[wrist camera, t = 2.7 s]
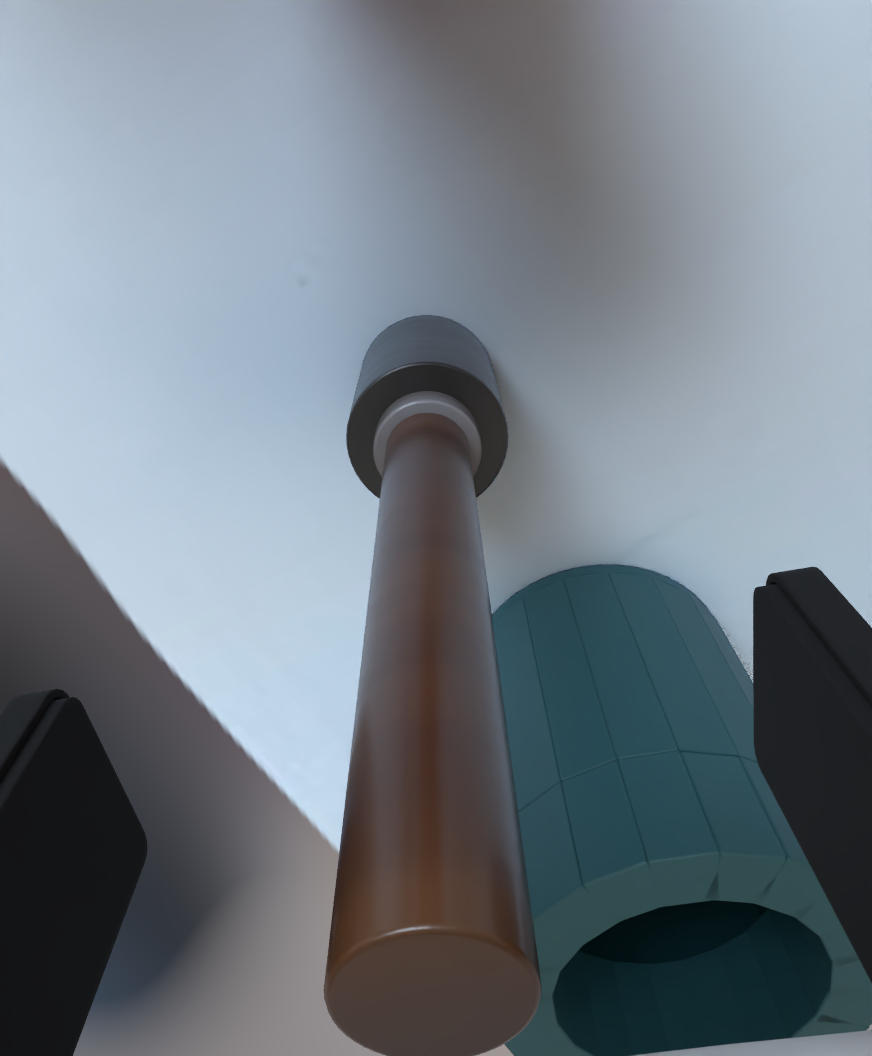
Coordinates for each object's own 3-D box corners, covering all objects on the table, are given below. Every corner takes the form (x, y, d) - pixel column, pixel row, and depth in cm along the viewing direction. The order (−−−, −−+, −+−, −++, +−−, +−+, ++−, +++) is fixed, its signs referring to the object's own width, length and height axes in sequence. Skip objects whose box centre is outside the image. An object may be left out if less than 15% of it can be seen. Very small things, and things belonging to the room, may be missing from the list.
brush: (347, 328, 23) (147, 885, 7) (482, 302, 23) (638, 815, 6) (376, 453, 25) (278, 1140, 8) (501, 431, 25) (664, 1096, 8)
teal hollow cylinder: (446, 588, 28) (459, 887, 17) (721, 542, 27) (917, 825, 16) (487, 786, 32) (518, 1125, 21) (725, 751, 31) (882, 1083, 20)
